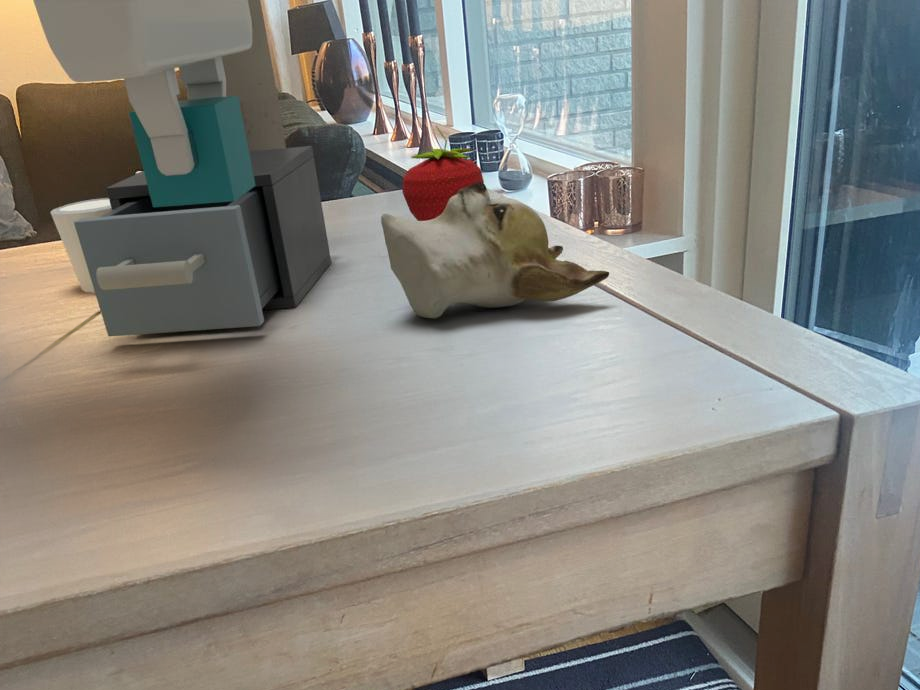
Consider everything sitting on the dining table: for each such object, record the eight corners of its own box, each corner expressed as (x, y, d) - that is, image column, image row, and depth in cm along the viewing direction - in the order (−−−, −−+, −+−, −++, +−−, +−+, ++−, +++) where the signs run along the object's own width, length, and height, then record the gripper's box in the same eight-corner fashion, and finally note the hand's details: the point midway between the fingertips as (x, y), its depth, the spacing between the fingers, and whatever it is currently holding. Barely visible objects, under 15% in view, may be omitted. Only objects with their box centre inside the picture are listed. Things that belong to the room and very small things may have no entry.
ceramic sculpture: (364, 178, 68) (561, 164, 72) (374, 302, 73) (558, 284, 76) (395, 202, 60) (617, 184, 63) (405, 341, 65) (610, 318, 68)
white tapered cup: (63, 292, 86) (36, 209, 83) (131, 274, 90) (109, 194, 86) (98, 302, 82) (71, 215, 78) (168, 282, 86) (146, 198, 82)
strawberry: (399, 252, 88) (383, 130, 83) (471, 237, 91) (460, 118, 85) (426, 262, 84) (411, 135, 78) (501, 246, 86) (492, 122, 81)
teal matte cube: (152, 207, 51) (128, 112, 48) (179, 192, 55) (158, 102, 52) (234, 201, 51) (214, 104, 48) (256, 186, 54) (238, 95, 52)
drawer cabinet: (295, 307, 75) (270, 173, 70) (142, 318, 76) (105, 187, 71) (331, 263, 87) (312, 145, 82) (198, 273, 88) (170, 158, 83)
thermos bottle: (214, 263, 91) (127, -107, 76) (235, 244, 98) (159, -99, 82) (295, 256, 91) (225, -118, 75) (311, 238, 97) (250, -110, 81)
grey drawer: (242, 346, 64) (214, 222, 60) (81, 357, 65) (42, 237, 61) (301, 278, 79) (282, 175, 75) (169, 288, 80) (143, 187, 76)
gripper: (137, -139, 53) (199, 141, 60) (-56, -193, 36) (64, 204, 44) (249, -152, 52) (296, 133, 60) (105, -212, 35) (197, 194, 43)
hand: (197, 163), depth 52 cm, fingers closed on teal matte cube, 4 cm apart
